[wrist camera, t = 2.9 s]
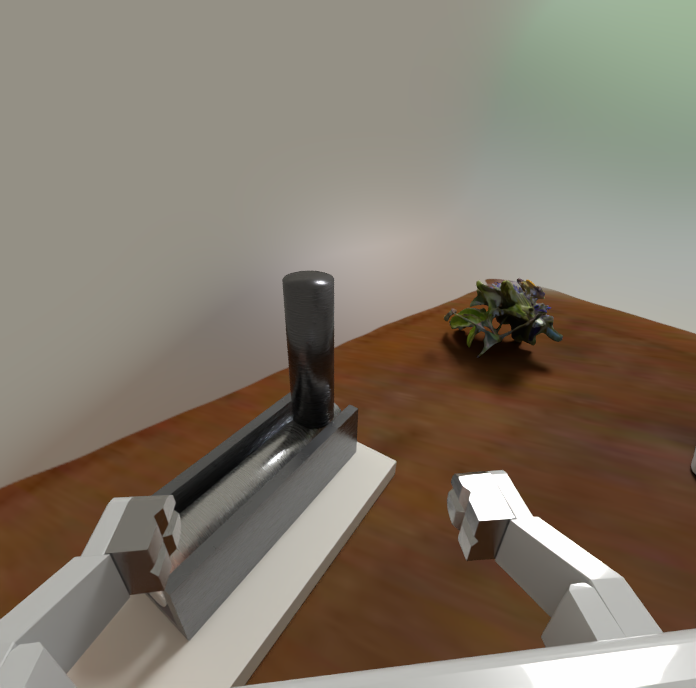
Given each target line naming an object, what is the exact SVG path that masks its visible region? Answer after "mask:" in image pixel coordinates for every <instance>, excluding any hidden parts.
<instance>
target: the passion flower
mask: <svg viewBox="0 0 696 688" xmlns="http://www.w3.org/2000/svg"><path fill="white" fill-rule="evenodd" d="M517 282H518V284H519V285H520V286H521V288H522V289H521V288H520V287H519V289H517V286H516V287H515V285H514V284H513V285H512V283H511V282H510V281H508V280H507V281H503V282H502V283H500V284H499V283H498V282H497V284H498V285H496V286H495V285H494V284H492V285H493V286H494V287H495V288H496V289H494V288H492V287H488V286H486V285H484V284H482V283H481V282H480V281H477V283H476V285H477V288H478V289H477V294H478V296H477V297H476V298H474V300H473V301H472V302H471V304H470V307H471V306H474V305H481V304H484V305H487V306H489V308H488V311H487V312H486V310H485V309H484V308H483V309H476V308H466V309H464V310H462V311H460V313H458V314H456V312H457V311H456V310H455V309H451V311H450V312H449V313H448V314H447V315H446V316H445V317H444V319H445V321H448V319H449V317H450V316H451V315H453V314H455V316H454V317H452V319H451V321H450V322H449V323H450V325H451V328H452V329H456V328H459V330H462V329H463V328H466V327H473V328H472V329H471V331H470V333H469V335H468V337H467V345H468V347H470V345H471V343H472V341H473V338H474V336H475V335H476V334H477V333H479V332H480V331H483V332H485V338H484V348H483V350H482V352H481V353H480V354H479V355H478V356H477V357H478V358H479V357H480V356H481V355H482V354H483V353H484V352H486V350H488V349H489V348H490V347H491V346H493V345H494V344H495V343H500V342H501V341H502V339H503V338H504V337H505V336H507V335H509V334H511V333H512V338H513V339H514V340H515V341H516V342H522V341H525V342H526V343H529V344H531V345H535V343H536V335H538V334H540V333H545V334H546V335H547V336H548V337H549V338H551V339H552V340H554V341H557V342H559V341H561V340H562V337H563V336H562V335H561V334H559V333H558V332H557V331H555V330H554V329H553V317H552V316H549V315H546V313H547V311H546V310H547V309H550V308H551V307H548V306H544V305H545V304H544V303H541V304H537V303H536V301H537V299H545V298H544V295H545V293H544V292H543V290H542V289H541V287H539V286H537V287H536V286H535V285H534V283H532V282H531V281H530V280H526V281H524V280H522V279H517ZM494 283H495V282H494ZM524 288H525V289H524ZM523 291H525V293H524V292H523ZM526 292H527V294H526ZM529 296H530V297H529ZM495 317H496V320H497V322H499V323H500V326H499V327H498V328H497V329H494V328H493V326H492V320H493V318H495ZM502 324H510V325H511V331H509V332H507V333H505V334H503V335H498V331H499V329H500V328H501V325H502ZM483 326H486V327H488V328H490V329H491V331H492V333H491V332H489V331H486V330H485V329H484V328H483Z"/></svg>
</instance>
